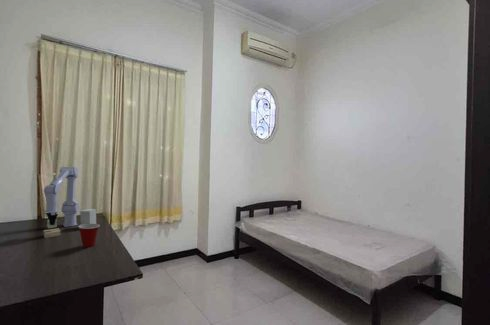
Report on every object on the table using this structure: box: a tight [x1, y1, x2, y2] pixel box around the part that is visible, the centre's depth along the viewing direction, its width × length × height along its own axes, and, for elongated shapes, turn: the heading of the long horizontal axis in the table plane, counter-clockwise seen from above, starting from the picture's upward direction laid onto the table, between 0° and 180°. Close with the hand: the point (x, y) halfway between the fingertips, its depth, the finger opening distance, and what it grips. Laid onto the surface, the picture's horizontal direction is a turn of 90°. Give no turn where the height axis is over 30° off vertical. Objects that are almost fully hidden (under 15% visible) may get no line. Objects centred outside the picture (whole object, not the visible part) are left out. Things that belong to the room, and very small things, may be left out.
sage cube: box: [46, 219, 58, 229], centre depth 165 cm, size 4×4×4 cm
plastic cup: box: [77, 223, 101, 248], centre depth 147 cm, size 11×11×12 cm
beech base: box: [43, 227, 61, 239], centre depth 165 cm, size 8×8×3 cm
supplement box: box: [79, 208, 97, 225], centre depth 185 cm, size 7×7×13 cm
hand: (51, 224), depth 165 cm, fingers closed on sage cube, 4 cm apart
